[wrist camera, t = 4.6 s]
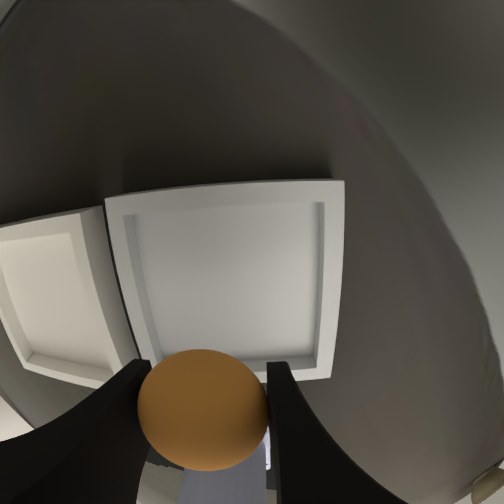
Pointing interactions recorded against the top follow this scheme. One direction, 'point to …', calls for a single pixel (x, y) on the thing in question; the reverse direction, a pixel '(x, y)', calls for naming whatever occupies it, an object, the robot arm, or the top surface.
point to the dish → (63, 297)
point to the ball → (203, 410)
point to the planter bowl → (487, 484)
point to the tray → (234, 270)
